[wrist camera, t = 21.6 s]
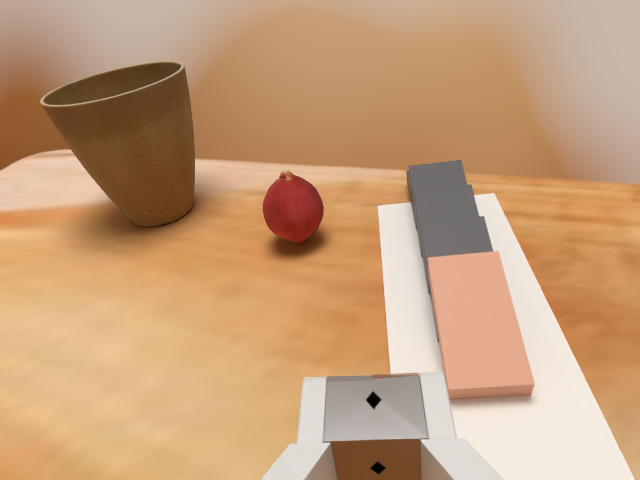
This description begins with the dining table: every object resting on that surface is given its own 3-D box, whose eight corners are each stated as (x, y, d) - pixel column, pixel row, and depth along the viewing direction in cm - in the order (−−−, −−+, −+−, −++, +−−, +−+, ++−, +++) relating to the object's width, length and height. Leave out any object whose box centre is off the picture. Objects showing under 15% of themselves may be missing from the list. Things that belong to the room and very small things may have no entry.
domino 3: (437, 331, 35) (420, 222, 42) (437, 342, 36) (420, 234, 43) (513, 325, 35) (483, 215, 41) (510, 337, 36) (482, 228, 42)
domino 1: (421, 246, 44) (409, 166, 50) (421, 257, 45) (409, 177, 52) (480, 240, 43) (461, 159, 50) (479, 251, 45) (460, 171, 51)
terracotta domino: (448, 389, 31) (427, 257, 37) (448, 399, 32) (427, 270, 38) (534, 384, 30) (498, 250, 37) (530, 394, 32) (496, 263, 38)
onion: (268, 234, 54) (250, 164, 49) (321, 221, 54) (308, 151, 50) (276, 264, 49) (257, 189, 44) (334, 249, 49) (321, 174, 45)
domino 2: (428, 283, 40) (414, 190, 46) (428, 294, 41) (414, 202, 47) (494, 277, 39) (471, 184, 45) (492, 289, 40) (470, 196, 47)
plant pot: (231, 176, 68) (197, 52, 59) (209, 236, 55) (161, 89, 47) (124, 191, 69) (76, 72, 61) (78, 252, 57) (10, 113, 48)
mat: (400, 498, 28) (399, 495, 27) (377, 208, 54) (377, 205, 54) (637, 490, 26) (638, 487, 26) (493, 195, 53) (494, 193, 53)
